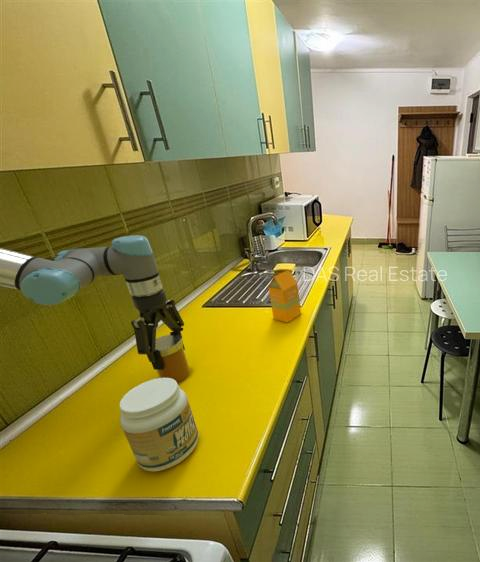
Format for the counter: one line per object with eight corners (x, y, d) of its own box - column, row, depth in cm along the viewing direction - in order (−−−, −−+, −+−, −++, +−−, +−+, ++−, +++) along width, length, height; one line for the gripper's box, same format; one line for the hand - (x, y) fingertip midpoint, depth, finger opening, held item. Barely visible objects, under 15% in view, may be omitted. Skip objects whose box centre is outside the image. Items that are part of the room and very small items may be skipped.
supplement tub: (183, 473, 66) (161, 414, 59) (125, 476, 65) (97, 417, 59) (209, 426, 77) (192, 373, 71) (159, 429, 77) (138, 375, 70)
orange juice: (301, 313, 132) (296, 270, 124) (287, 322, 125) (281, 277, 117) (287, 309, 135) (281, 267, 127) (273, 318, 128) (266, 274, 120)
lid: (170, 357, 87) (168, 351, 86) (142, 357, 87) (139, 350, 87) (189, 340, 95) (187, 334, 94) (163, 340, 95) (161, 333, 95)
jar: (154, 384, 92) (142, 351, 87) (172, 367, 99) (161, 336, 94) (179, 385, 91) (168, 352, 87) (195, 368, 99) (186, 336, 94)
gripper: (129, 310, 74) (156, 383, 83) (185, 277, 93) (202, 339, 102) (100, 309, 74) (130, 382, 83) (162, 277, 94) (181, 338, 103)
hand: (170, 358), depth 93 cm, fingers closed on lid, 9 cm apart
